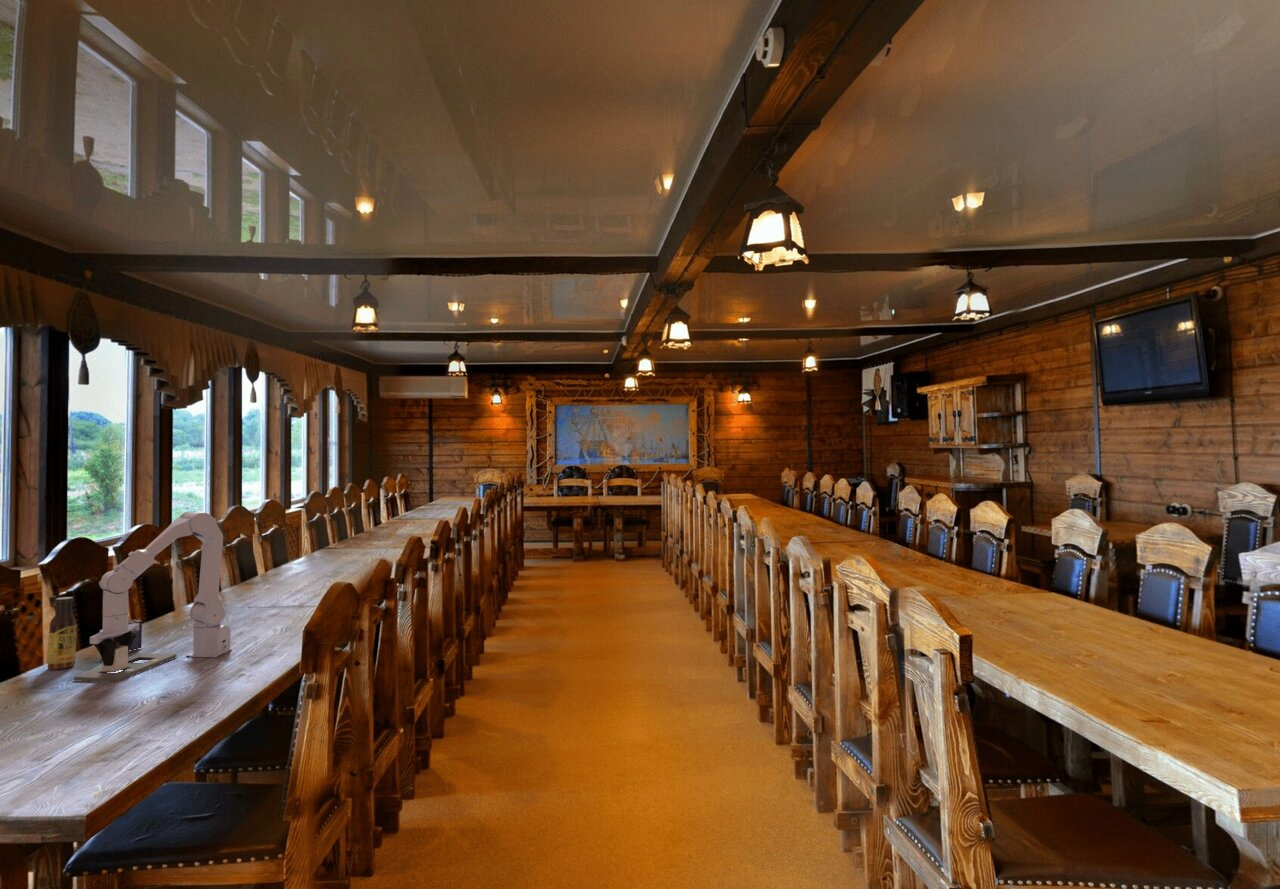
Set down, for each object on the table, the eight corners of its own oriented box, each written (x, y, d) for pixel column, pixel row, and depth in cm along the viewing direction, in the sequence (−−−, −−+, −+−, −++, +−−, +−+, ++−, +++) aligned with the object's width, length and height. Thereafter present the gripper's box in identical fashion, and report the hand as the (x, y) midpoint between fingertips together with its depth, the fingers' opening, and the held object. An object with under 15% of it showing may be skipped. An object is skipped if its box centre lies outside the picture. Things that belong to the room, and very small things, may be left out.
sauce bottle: (59, 671, 194) (60, 601, 194) (41, 670, 195) (42, 600, 195) (82, 664, 200) (83, 596, 200) (64, 663, 201) (65, 595, 202)
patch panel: (176, 658, 207) (176, 653, 207) (115, 682, 185) (115, 677, 185) (138, 657, 208) (138, 652, 208) (73, 681, 186) (73, 676, 186)
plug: (129, 667, 194) (129, 640, 194) (117, 671, 190) (118, 644, 190) (114, 666, 194) (114, 640, 194) (102, 671, 190) (102, 644, 190)
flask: (107, 656, 208) (108, 620, 209) (104, 654, 210) (104, 619, 210) (143, 649, 216) (143, 615, 216) (139, 647, 218) (139, 613, 218)
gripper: (123, 607, 199) (122, 654, 199) (79, 620, 185) (78, 670, 185) (146, 608, 199) (145, 655, 199) (104, 620, 184) (103, 671, 184)
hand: (115, 662), depth 192 cm, fingers closed on plug, 4 cm apart
